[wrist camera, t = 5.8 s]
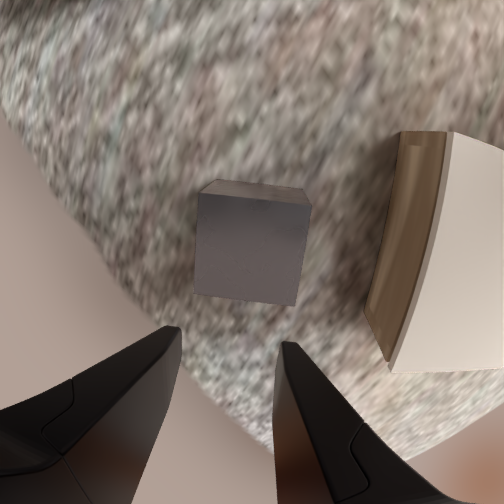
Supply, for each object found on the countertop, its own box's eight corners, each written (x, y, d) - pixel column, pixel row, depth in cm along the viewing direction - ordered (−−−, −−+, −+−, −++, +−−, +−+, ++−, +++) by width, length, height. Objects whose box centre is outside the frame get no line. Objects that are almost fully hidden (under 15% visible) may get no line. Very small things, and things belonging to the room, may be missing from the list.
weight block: (302, 188, 19) (311, 205, 14) (290, 267, 20) (294, 306, 16) (217, 179, 19) (198, 192, 14) (211, 258, 21) (193, 293, 16)
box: (544, 181, 17) (592, 197, 11) (504, 319, 21) (539, 355, 15) (400, 131, 17) (445, 131, 12) (363, 311, 21) (385, 361, 16)
